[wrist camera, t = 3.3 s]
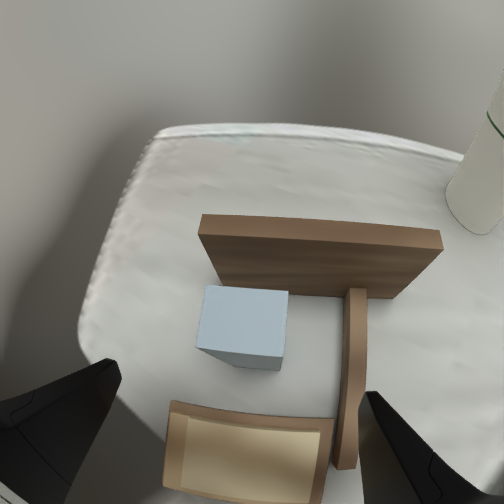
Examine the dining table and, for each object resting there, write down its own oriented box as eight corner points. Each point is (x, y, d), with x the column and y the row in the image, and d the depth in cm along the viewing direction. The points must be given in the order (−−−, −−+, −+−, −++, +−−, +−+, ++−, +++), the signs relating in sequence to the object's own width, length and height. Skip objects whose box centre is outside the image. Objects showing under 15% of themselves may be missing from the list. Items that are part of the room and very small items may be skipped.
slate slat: (279, 370, 18) (283, 357, 9) (233, 366, 18) (195, 347, 10) (283, 336, 19) (288, 291, 10) (238, 332, 19) (206, 284, 11)
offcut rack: (377, 496, 12) (424, 537, 5) (165, 481, 14) (109, 517, 7) (392, 284, 20) (439, 230, 12) (196, 272, 22) (159, 213, 14)
